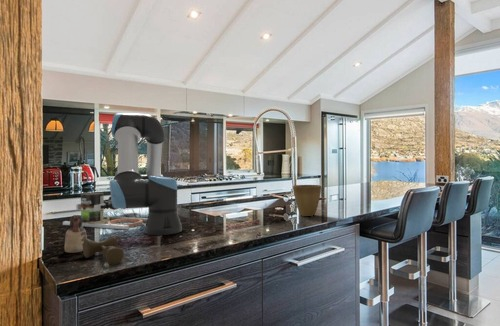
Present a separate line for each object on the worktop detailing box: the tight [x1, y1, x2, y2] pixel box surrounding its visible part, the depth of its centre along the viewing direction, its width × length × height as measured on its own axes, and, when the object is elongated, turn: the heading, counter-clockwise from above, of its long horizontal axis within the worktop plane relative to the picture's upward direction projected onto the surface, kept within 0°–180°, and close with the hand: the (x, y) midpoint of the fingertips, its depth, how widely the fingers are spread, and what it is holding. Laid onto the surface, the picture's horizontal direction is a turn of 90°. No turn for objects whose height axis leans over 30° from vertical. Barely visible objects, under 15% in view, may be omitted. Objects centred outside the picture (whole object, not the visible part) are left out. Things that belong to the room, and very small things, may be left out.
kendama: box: [82, 235, 125, 265], centre depth 108 cm, size 6×10×20 cm
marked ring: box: [106, 217, 144, 228], centre depth 161 cm, size 15×15×2 cm
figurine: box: [64, 214, 88, 254], centre depth 117 cm, size 7×7×12 cm
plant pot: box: [292, 184, 322, 217], centre depth 182 cm, size 15×15×16 cm
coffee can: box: [80, 191, 105, 222], centre depth 167 cm, size 10×10×14 cm
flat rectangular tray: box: [62, 215, 148, 230], centre depth 164 cm, size 36×19×2 cm, turn 71°
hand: (85, 207), depth 163 cm, fingers closed on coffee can, 10 cm apart
